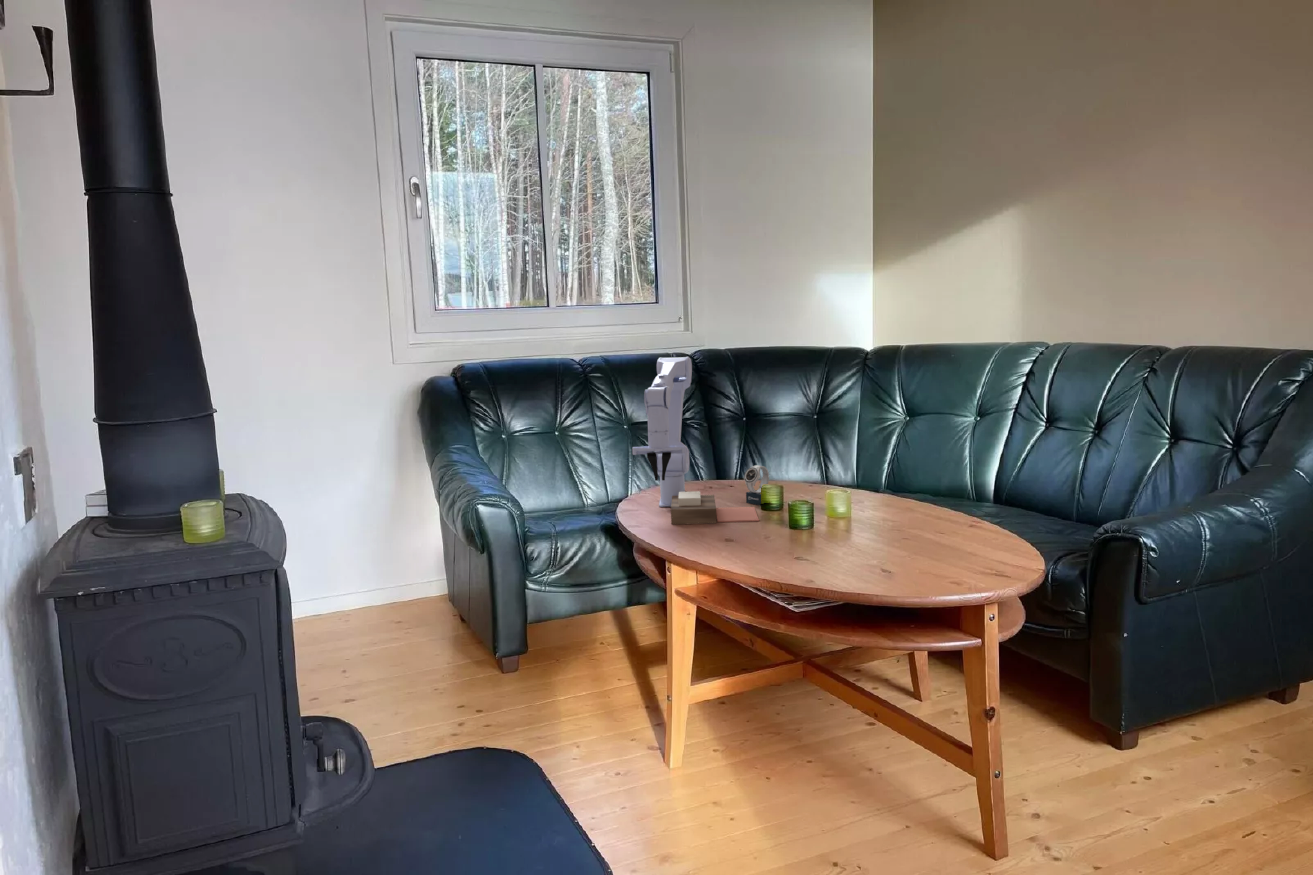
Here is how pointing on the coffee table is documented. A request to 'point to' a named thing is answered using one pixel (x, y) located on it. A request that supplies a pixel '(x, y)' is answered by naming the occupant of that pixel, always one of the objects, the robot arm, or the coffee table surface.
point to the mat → (736, 514)
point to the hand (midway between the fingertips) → (659, 479)
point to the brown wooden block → (694, 511)
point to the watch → (751, 479)
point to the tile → (689, 498)
